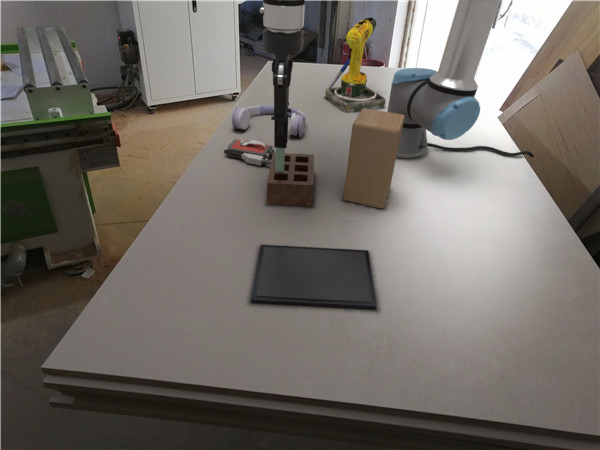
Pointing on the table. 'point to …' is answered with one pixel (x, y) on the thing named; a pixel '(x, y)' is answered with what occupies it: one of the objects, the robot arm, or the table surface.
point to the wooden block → (372, 157)
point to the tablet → (314, 277)
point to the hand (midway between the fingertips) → (281, 144)
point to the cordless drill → (355, 73)
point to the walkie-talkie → (250, 151)
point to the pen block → (291, 181)
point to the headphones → (243, 114)
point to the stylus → (280, 160)
